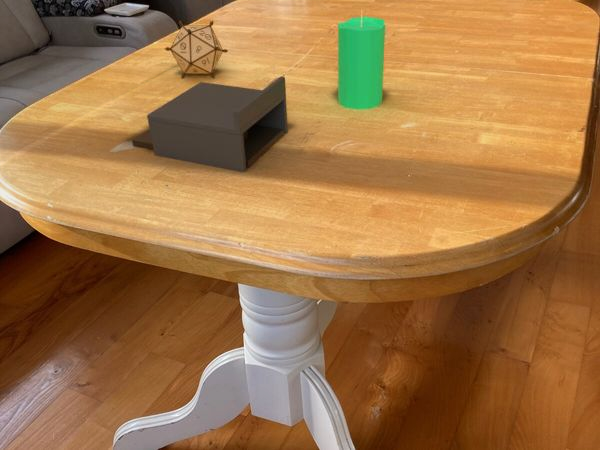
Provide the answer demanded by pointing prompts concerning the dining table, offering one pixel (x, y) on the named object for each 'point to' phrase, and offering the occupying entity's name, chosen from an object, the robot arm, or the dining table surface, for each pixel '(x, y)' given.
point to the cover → (215, 122)
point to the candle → (361, 62)
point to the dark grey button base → (254, 138)
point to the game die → (196, 49)
